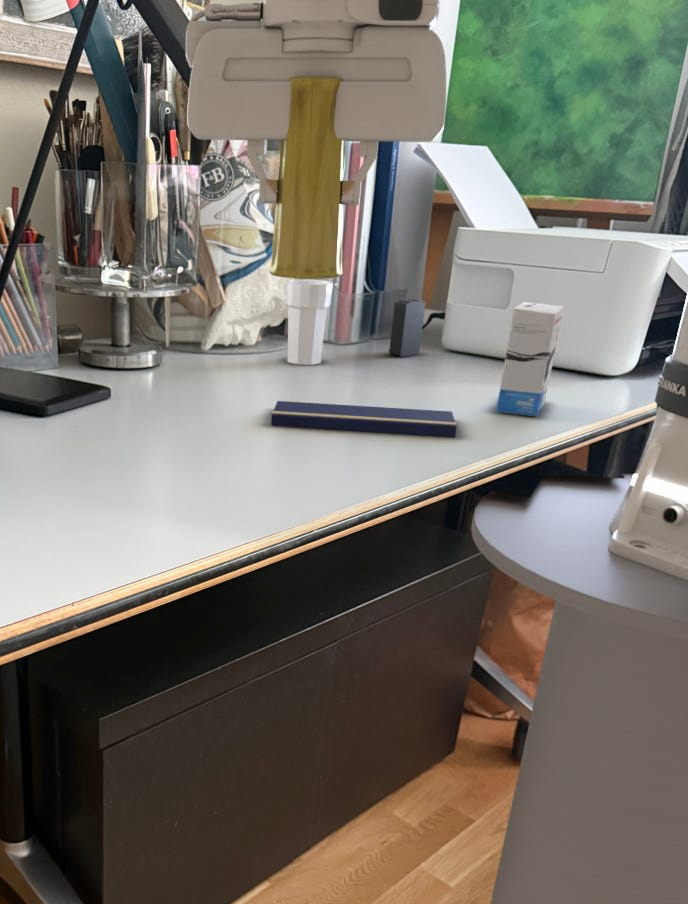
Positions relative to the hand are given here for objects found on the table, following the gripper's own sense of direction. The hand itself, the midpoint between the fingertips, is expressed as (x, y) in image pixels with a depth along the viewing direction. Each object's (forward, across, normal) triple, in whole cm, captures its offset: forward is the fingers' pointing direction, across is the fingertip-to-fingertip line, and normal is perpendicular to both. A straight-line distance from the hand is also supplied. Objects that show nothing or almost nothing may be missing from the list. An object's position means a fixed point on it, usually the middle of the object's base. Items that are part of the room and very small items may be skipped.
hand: (309, 204), depth 77 cm
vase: (+6, 0, 0) cm, 6 cm away
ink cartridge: (+23, +12, +67) cm, 72 cm away
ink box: (+23, +25, +34) cm, 48 cm away
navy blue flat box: (+23, +6, +21) cm, 32 cm away
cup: (+23, -3, +57) cm, 61 cm away
